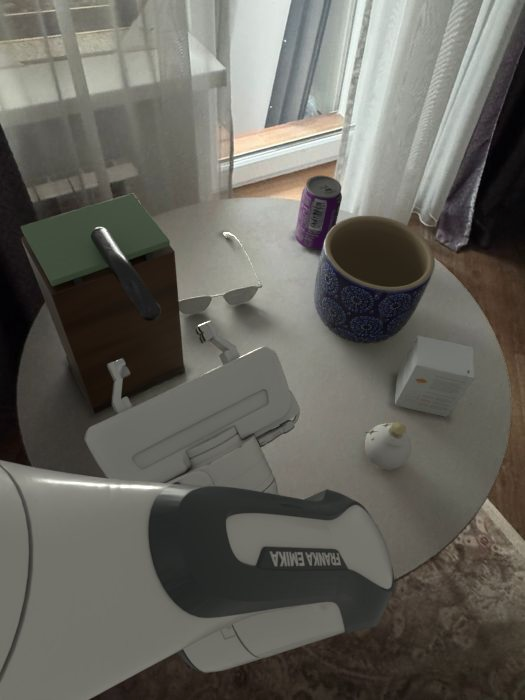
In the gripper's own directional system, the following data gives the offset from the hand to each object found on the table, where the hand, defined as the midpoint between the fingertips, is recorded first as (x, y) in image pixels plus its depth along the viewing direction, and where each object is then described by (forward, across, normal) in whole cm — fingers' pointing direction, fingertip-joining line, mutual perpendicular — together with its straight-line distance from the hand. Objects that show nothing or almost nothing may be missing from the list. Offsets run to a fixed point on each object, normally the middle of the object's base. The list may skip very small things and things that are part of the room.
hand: (160, 341), depth 49 cm
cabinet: (+2, 0, +28) cm, 28 cm away
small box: (-22, -36, +15) cm, 44 cm away
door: (+10, 0, +4) cm, 11 cm away
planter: (-7, -38, +24) cm, 45 cm away
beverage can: (+10, -43, +34) cm, 55 cm away
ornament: (-25, -23, +13) cm, 37 cm away
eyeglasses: (+12, -20, +35) cm, 42 cm away
